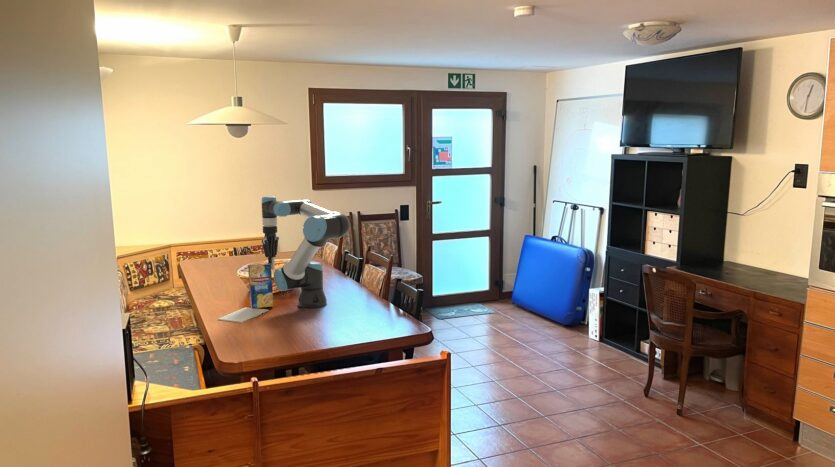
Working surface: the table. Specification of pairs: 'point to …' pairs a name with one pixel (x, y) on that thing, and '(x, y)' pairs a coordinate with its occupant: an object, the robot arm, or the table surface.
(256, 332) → the table surface
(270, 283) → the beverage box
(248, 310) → the board
